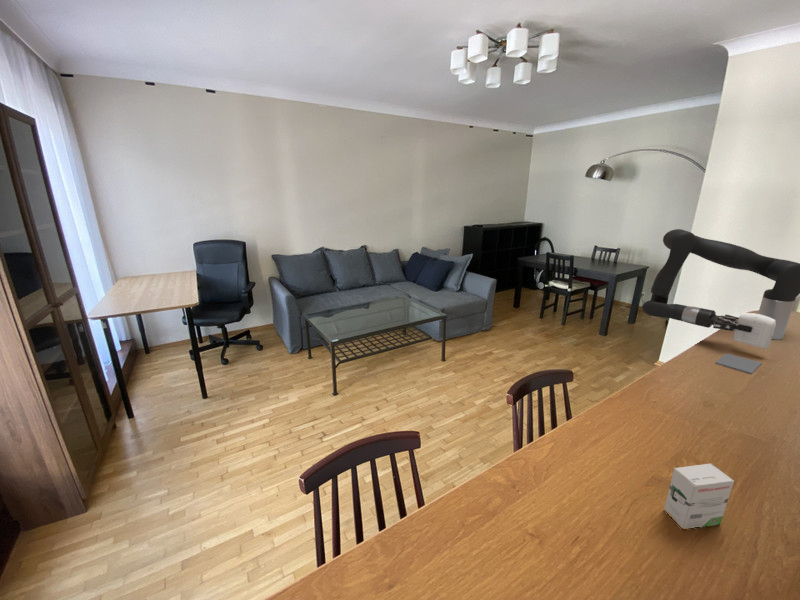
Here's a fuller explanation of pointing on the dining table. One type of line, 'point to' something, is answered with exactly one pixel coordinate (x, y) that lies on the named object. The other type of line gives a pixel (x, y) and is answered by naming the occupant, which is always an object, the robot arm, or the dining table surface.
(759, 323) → the photo printer
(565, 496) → the dining table surface
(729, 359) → the rubber mat
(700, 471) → the ink box
